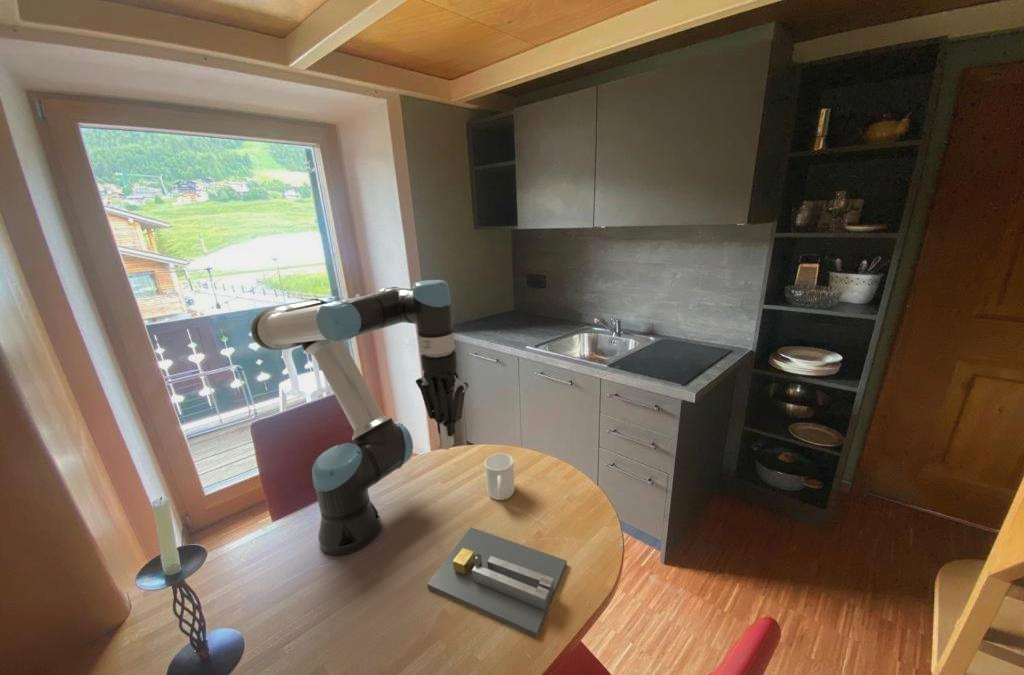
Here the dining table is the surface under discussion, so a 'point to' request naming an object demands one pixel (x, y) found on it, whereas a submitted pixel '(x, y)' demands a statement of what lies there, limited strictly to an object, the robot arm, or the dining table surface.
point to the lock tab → (463, 561)
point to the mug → (499, 476)
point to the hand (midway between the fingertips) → (448, 446)
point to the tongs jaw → (521, 574)
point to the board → (488, 598)
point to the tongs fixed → (509, 585)
